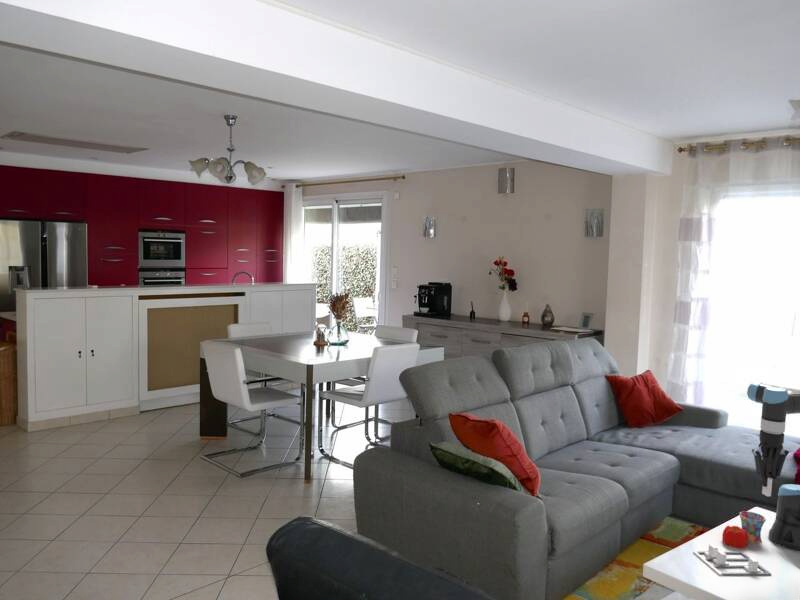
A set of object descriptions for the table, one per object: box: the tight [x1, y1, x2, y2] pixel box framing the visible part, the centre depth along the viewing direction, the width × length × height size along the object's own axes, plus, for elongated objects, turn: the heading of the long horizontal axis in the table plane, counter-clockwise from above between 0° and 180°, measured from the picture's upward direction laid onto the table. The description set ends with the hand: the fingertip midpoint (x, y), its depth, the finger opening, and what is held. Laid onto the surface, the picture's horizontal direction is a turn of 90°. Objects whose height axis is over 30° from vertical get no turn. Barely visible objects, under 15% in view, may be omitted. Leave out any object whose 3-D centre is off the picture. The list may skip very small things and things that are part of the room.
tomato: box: [721, 525, 750, 549], centre depth 247 cm, size 9×9×8 cm
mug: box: [738, 510, 767, 544], centre depth 254 cm, size 12×9×11 cm
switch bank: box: [692, 550, 772, 577], centre depth 230 cm, size 20×16×2 cm
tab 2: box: [712, 550, 730, 565], centre depth 230 cm, size 4×3×4 cm
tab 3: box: [743, 557, 762, 573], centre depth 226 cm, size 4×3×4 cm
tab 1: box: [704, 543, 719, 558], centre depth 235 cm, size 4×3×4 cm
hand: (766, 494), depth 229 cm, fingers closed
